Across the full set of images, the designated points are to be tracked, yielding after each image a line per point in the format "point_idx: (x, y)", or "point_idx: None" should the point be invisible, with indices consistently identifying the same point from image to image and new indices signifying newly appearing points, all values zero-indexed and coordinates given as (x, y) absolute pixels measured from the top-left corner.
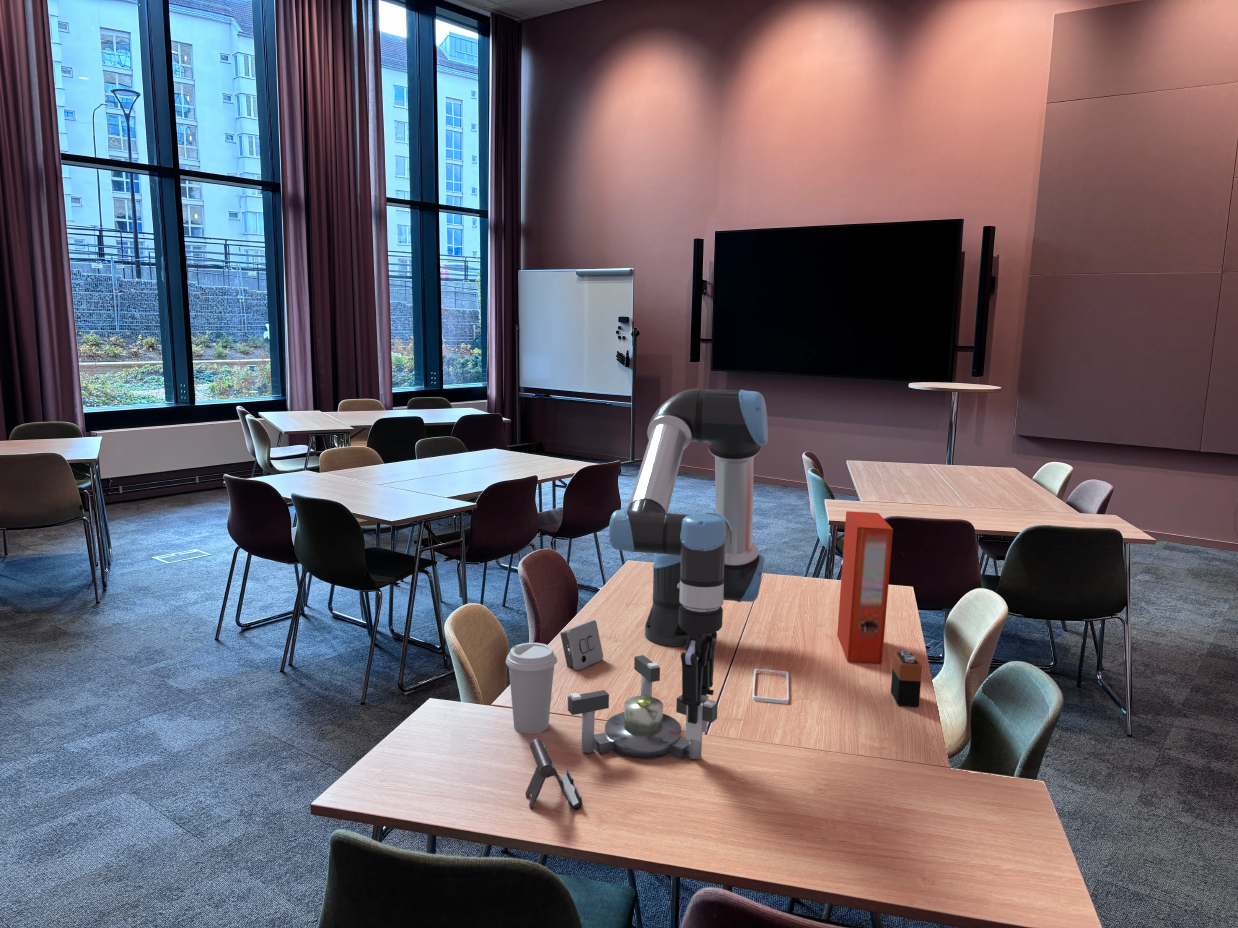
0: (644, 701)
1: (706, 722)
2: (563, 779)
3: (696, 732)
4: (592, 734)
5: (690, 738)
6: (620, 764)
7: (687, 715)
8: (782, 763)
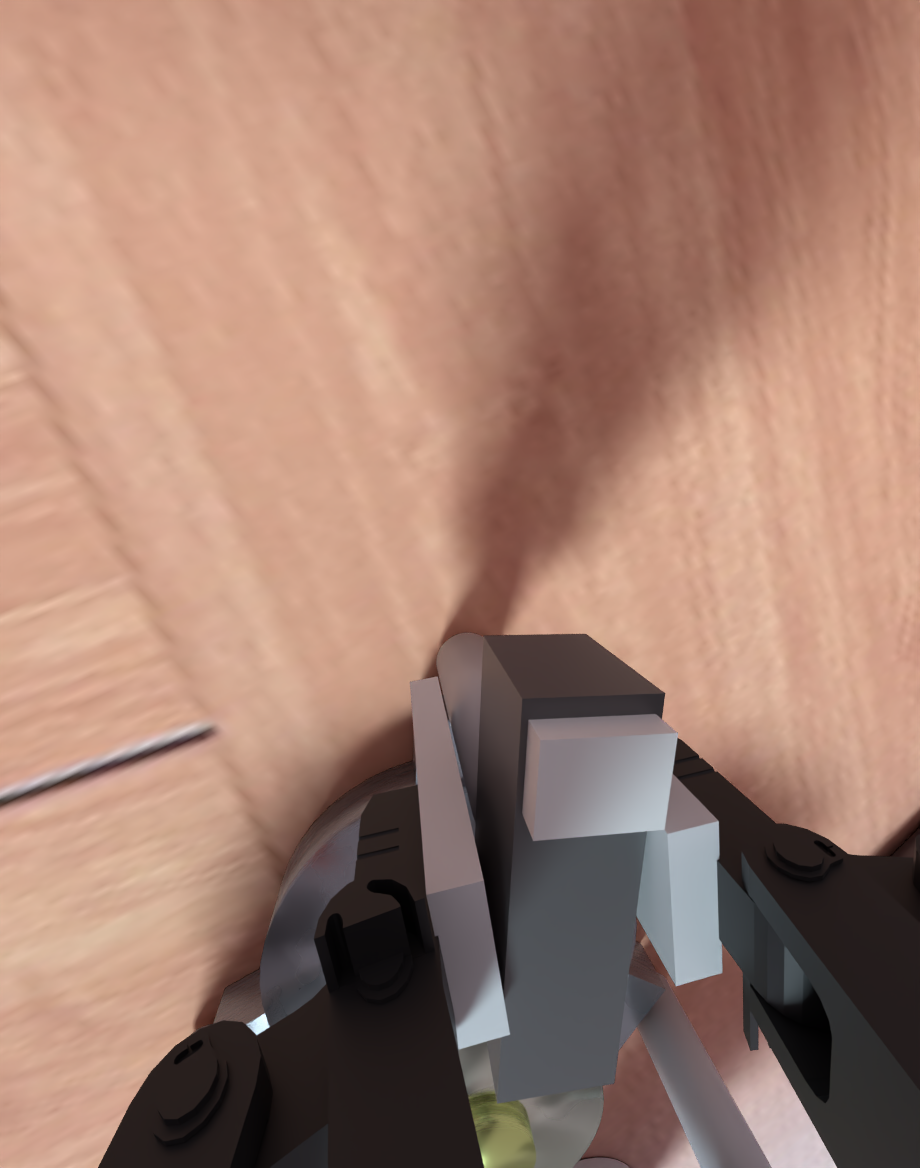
0: (498, 1154)
1: (440, 709)
2: None
3: None
4: (699, 1056)
5: None
6: None
7: None
8: (232, 230)
